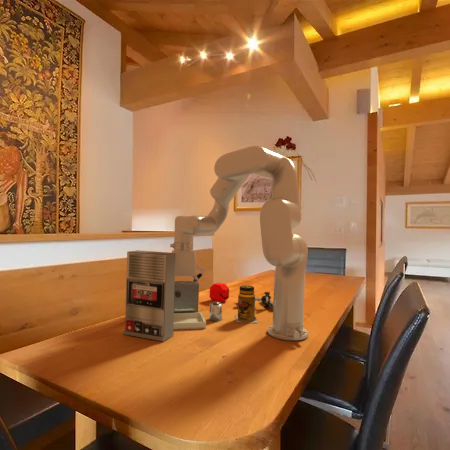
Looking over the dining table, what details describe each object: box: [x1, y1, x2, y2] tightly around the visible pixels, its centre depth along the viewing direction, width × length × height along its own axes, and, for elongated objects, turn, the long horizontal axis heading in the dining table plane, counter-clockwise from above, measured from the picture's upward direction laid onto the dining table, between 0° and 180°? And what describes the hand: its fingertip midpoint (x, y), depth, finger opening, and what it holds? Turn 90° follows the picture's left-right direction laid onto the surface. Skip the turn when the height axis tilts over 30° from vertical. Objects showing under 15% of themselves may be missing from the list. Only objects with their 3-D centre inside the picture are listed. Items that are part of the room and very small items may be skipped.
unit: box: [174, 280, 200, 313], centre depth 114 cm, size 7×10×12 cm
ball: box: [209, 282, 230, 303], centre depth 137 cm, size 8×8×8 cm
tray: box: [173, 311, 207, 331], centre depth 105 cm, size 11×11×2 cm
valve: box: [255, 291, 272, 309], centre depth 129 cm, size 7×7×12 cm
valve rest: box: [260, 295, 273, 312], centre depth 130 cm, size 14×12×2 cm
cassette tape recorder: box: [122, 249, 176, 343], centre depth 93 cm, size 14×6×25 cm, turn 70°
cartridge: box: [208, 301, 223, 322], centre depth 111 cm, size 4×4×6 cm
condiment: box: [235, 285, 259, 324], centre depth 112 cm, size 7×8×12 cm
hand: (182, 290), depth 123 cm, fingers open, 9 cm apart
